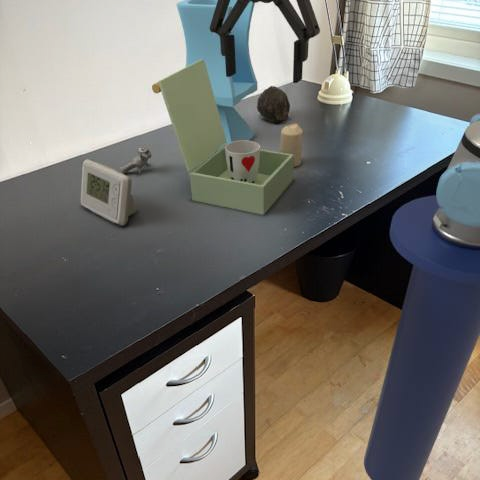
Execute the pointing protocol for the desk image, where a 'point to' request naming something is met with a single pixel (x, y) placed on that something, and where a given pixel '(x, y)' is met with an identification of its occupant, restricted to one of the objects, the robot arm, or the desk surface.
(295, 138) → the candle
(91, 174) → the digital clock
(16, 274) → the desk surface
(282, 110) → the rock
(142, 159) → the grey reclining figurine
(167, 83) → the lid
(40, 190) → the desk surface
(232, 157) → the cup
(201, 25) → the planter
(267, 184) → the chest
